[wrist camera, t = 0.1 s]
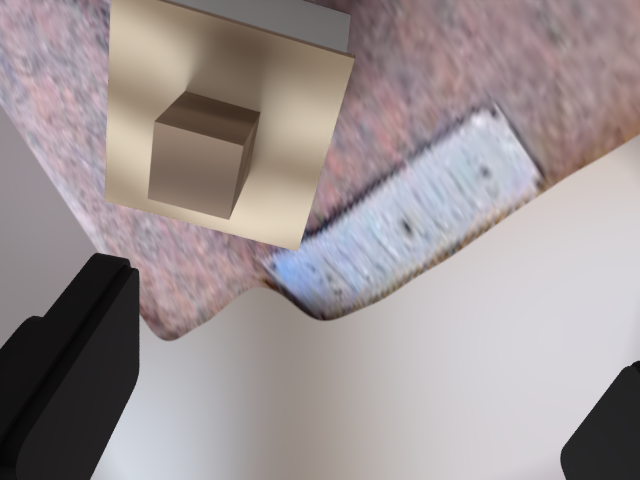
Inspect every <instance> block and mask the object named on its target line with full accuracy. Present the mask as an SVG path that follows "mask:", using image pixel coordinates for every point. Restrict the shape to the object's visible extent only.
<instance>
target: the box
mask: <svg viewBox="0 0 640 480" xmlns="http://www.w3.org/2000/svg"><path fill="white" fill-rule="evenodd" d="M171 1H174V2H177V3H181V4H184V5H187V6H191V7H194V8H198V9H201V10H204V11H208V12H211V13H214V14H218V15H221V16H224V17H228V18H231V19H235V20H238V21H241V22H245V23H248V24H251V25H255V26H258V27H261V28H265V29H268V30H272V31H275V32H278V33H282V34H285V35H288V36H292V37H295V38H298V39H302V40H305V41H309V42H312V43H315V44H319V45H322V46H325V47H329V48H332V49H335V50H339V51H342V52H346V53H347V47H348V37H349V28H350V19H351V15H350V14H346V13H343V12H340V11H336V10H333V9H330V8H327V7H323V6H320V5H317V4H313V3H310V2H307V1H304V0H171Z"/></svg>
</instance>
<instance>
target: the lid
mask: <svg viewBox="0 0 640 480" xmlns="http://www.w3.org/2000/svg"><path fill="white" fill-rule="evenodd" d="M354 60H355V55H352V54H349V53H346V52H342V51H339V50H335V49H332V48H329V47H325V46H322V45H319V44H315V43H312V42H309V41H305V40H302V39H298V38H295V37H292V36H288V35H285V34H282V33H278V32H275V31H272V30H268V29H265V28H261V27H258V26H255V25H251V24H248V23H245V22H241V21H238V20H235V19H231V18H228V17H224V16H221V15H218V14H214V13H211V12H208V11H204V10H201V9H198V8H194V7H191V6H187V5H184V4H181V3H177V2H174V1H171V0H111V14H110V45H109V77H108V108H107V139H106V171H105V201H106V202H110V203H114V204H118V205H122V206H126V207H129V208H133V209H137V210H141V211H145V212H149V213H153V214H156V215H160V216H164V217H168V218H172V219H176V220H179V221H183V222H187V223H191V224H195V225H199V226H202V227H206V228H210V229H214V230H218V231H222V232H226V233H229V234H233V235H237V236H241V237H245V238H249V239H252V240H256V241H260V242H264V243H268V244H272V245H275V246H279V247H283V248H287V249H291V250H295V251H298V249H299V246H300V242H301V239H302V235H303V232H304V229H305V225H306V222H307V219H308V215H309V212H310V209H311V205H312V202H313V198H314V195H315V192H316V188H317V185H318V182H319V178H320V175H321V172H322V168H323V165H324V161H325V158H326V155H327V151H328V148H329V145H330V141H331V138H332V134H333V131H334V128H335V124H336V121H337V118H338V114H339V111H340V108H341V104H342V101H343V97H344V94H345V91H346V87H347V84H348V81H349V77H350V74H351V71H352V67H353V64H354Z"/></svg>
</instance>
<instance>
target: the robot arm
mask: <svg viewBox="0 0 640 480" xmlns="http://www.w3.org/2000/svg"><path fill="white" fill-rule="evenodd" d="M138 375H139V270H138V269H136V268H131V266H130V261H129V260H128V259H126V258H121V257H116V256H111V255H106V254H101V253H95V254H94V255H93V256H92V257H91V258H90V259H89V260H88V261H87V263H86V264H85V265H84V266H83V268H82V269H81V270H80V272H79V273H78V274H77V275H76V277H75V278H74V279H73V280H72V282H71V283H70V284H69V285H68V287H67V288H66V289H65V291H64V292H63V293H62V294H61V295H60V297H59V298H58V299H57V300H56V302H55V303H54V304H53V306H52V307H51V308H50V309H49V310H48V312H47V313H46V314H45V315H44V317H39V316H32V317H30V318H28V319H26V320H25V321H24V322H23V323H22V324H21V325H20V327H18V329H17V330H16V331H15V332H14V333H13V334H12V336H11V337H10V338H9V339H8V340H7V342H6V343H5V344H4V345H3V346H2V348H1V349H0V480H90V479H91V476H92V474H93V473H94V470H95V468H96V466H97V464H98V462H99V460H100V458H101V456H102V454H103V452H104V450H105V448H106V446H107V443H108V441H109V439H110V437H111V435H112V433H113V431H114V429H115V427H116V425H117V423H118V421H119V419H120V416H121V414H122V412H123V410H124V408H125V406H126V404H127V402H128V400H129V398H130V396H131V394H132V392H133V389H134V387H135V385H136V382H137V378H138ZM560 460H561V466H562V469H563V472H564V475H565V478H566V480H640V361H636V362H634V363H633V364H632V365H631V366H627V367H625V368H624V369H623V370H622V371H621V372H620V373H619V375H618V376H617V377H616V379H615V380H614V381H613V383H612V384H611V385H610V387H609V388H608V389H607V390H606V392H605V393H604V395H603V396H602V397H601V399H600V400H599V401H598V403H597V404H596V405H595V406H594V408H593V409H592V410H591V412H590V413H589V414H588V416H587V417H586V418H585V419H584V421H583V422H582V423H581V425H580V426H579V427H578V429H577V430H576V431H575V433H574V434H573V435H572V436H571V438H570V439H569V441H568V442H567V443H566V444H565V446H564V447H563V449H562V451H561V457H560Z"/></svg>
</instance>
